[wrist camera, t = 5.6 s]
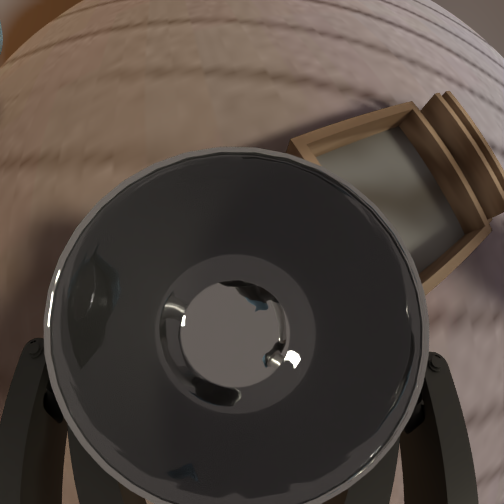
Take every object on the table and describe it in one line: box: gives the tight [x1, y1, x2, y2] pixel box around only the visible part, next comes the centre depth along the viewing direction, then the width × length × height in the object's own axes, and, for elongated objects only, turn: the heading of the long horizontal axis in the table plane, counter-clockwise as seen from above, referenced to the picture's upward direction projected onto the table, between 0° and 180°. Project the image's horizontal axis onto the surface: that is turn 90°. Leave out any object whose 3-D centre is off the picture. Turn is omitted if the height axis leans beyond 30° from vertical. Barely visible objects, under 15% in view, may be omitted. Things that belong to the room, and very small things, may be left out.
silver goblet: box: [44, 147, 429, 504], centre depth 12 cm, size 8×8×15 cm
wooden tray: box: [286, 91, 504, 295], centre depth 19 cm, size 14×19×6 cm
